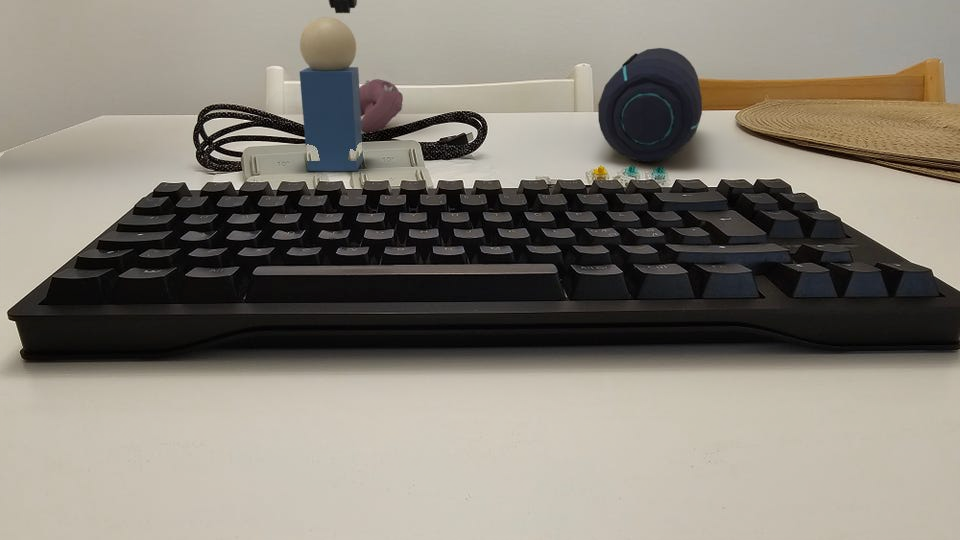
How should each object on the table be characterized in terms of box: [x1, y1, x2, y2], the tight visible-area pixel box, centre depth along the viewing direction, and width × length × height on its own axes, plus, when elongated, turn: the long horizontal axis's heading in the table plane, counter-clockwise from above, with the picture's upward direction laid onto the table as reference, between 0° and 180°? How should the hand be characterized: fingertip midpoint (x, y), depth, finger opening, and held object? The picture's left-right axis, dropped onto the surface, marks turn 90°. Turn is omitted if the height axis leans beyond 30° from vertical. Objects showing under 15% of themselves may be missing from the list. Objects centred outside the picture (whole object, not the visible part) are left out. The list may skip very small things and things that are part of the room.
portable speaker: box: [597, 47, 703, 163], centre depth 75 cm, size 25×10×10 cm, turn 164°
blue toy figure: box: [299, 16, 364, 172], centre depth 64 cm, size 5×5×14 cm
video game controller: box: [359, 78, 404, 134], centre depth 86 cm, size 10×5×7 cm, turn 29°
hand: (341, 7), depth 70 cm, fingers closed
